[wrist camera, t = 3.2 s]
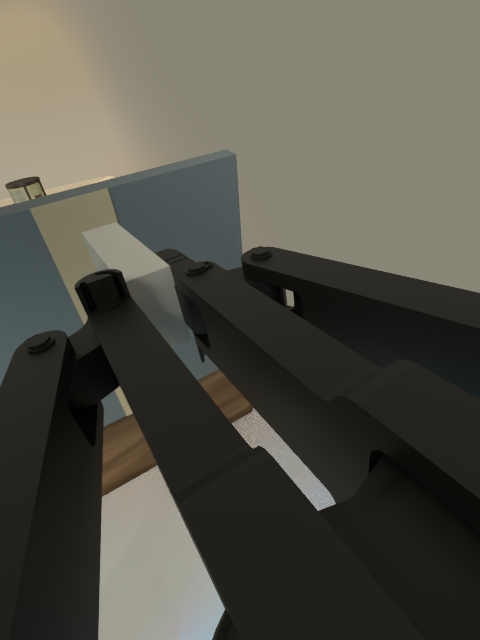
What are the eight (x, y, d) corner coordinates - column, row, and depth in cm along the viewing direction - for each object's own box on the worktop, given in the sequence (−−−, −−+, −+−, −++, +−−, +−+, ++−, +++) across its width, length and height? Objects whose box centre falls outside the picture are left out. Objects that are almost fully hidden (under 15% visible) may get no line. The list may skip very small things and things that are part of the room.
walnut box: (252, 411, 41) (240, 347, 36) (69, 514, 34) (23, 453, 29) (188, 338, 54) (173, 285, 49) (48, 401, 47) (14, 346, 42)
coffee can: (34, 220, 130) (15, 179, 122) (62, 216, 129) (44, 174, 121) (19, 230, 122) (-2, 187, 114) (48, 226, 121) (28, 182, 113)
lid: (241, 346, 36) (249, 355, 35) (20, 454, 29) (23, 468, 28) (226, 149, 24) (236, 154, 23) (-169, 250, 16) (-175, 263, 15)
